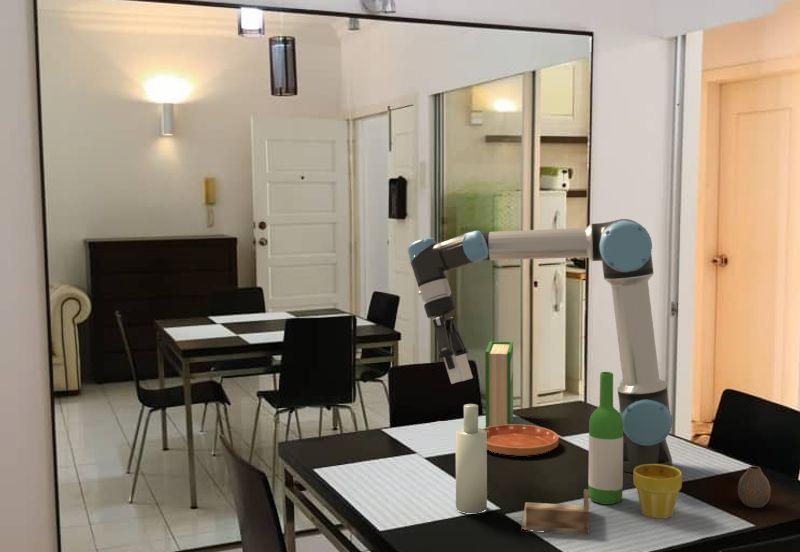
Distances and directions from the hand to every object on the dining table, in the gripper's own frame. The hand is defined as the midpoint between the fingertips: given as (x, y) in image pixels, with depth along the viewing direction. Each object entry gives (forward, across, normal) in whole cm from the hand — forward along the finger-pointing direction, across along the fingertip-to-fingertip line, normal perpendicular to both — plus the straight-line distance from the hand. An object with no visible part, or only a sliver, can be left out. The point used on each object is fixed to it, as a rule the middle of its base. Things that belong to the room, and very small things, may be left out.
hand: (462, 381), depth 219 cm
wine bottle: (+36, +2, +25) cm, 44 cm away
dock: (+35, +18, +14) cm, 42 cm away
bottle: (+28, +15, -4) cm, 32 cm away
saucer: (+22, -34, +2) cm, 41 cm away
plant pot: (+41, +8, +35) cm, 54 cm away
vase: (+46, -2, +56) cm, 72 cm away
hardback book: (+15, -58, -5) cm, 60 cm away
